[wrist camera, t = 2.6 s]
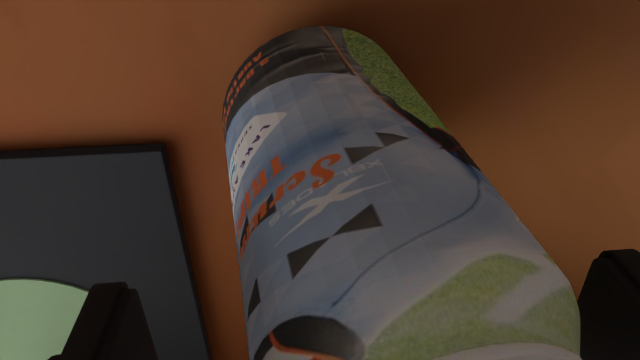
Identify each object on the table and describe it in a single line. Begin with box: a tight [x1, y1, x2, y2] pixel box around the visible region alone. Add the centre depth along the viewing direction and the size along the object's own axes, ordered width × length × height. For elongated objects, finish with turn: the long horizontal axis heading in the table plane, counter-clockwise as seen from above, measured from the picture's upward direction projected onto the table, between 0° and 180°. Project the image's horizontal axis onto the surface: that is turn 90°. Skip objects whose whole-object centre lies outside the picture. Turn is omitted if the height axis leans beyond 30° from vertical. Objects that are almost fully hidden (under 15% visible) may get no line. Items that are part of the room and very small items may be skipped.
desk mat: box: [0, 143, 212, 360], centre depth 22 cm, size 20×14×1 cm
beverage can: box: [222, 26, 582, 360], centre depth 12 cm, size 6×7×12 cm
